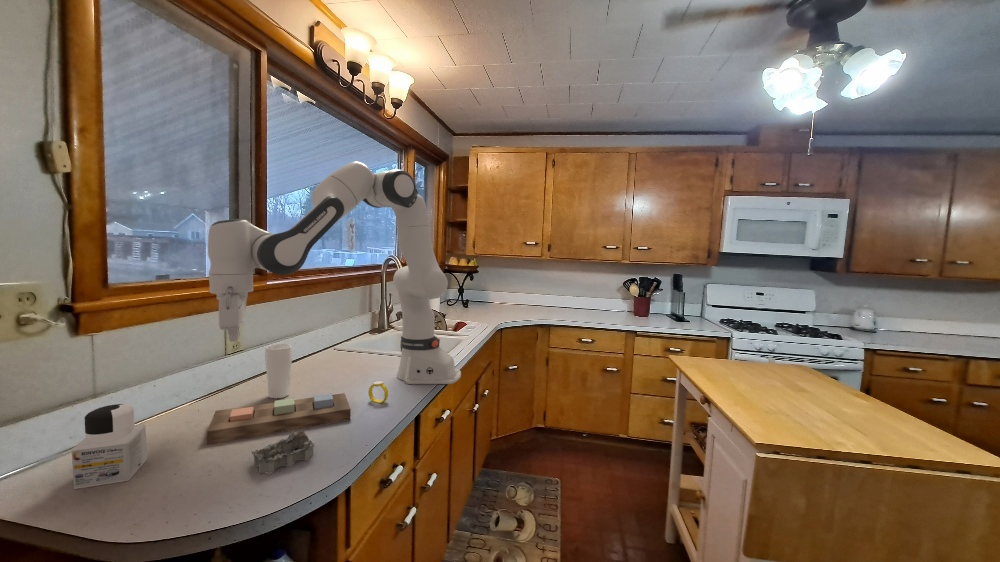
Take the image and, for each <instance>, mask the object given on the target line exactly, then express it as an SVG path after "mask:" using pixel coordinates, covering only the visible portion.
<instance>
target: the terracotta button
mask: <svg viewBox="0 0 1000 562" xmlns="http://www.w3.org/2000/svg"><path fill="white" fill-rule="evenodd" d="M246 407H247V406H246ZM252 418H254V407H247V408H240V409H233V410H232V412H231V415H230V422H232V421H239V420H245V419H252Z"/></svg>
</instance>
